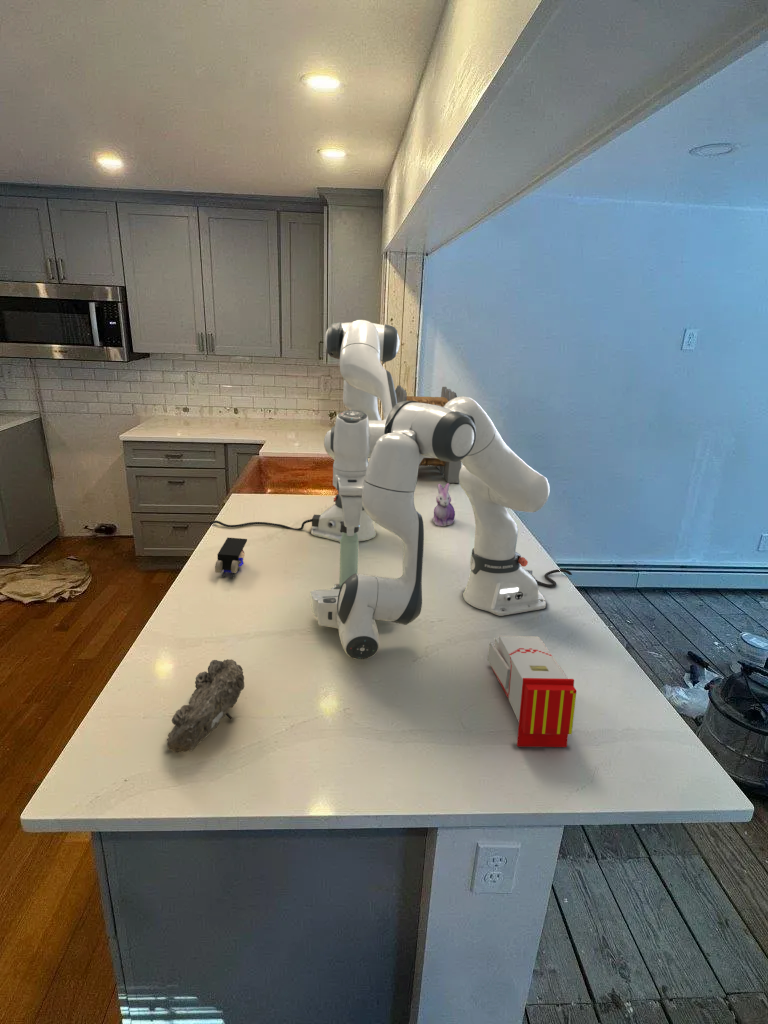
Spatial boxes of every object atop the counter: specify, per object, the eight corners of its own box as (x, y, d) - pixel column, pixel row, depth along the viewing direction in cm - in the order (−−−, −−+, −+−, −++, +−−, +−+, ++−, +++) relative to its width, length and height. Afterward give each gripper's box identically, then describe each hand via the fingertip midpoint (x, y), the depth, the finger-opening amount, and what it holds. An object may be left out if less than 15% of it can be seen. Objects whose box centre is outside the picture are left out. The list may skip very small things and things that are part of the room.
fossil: (192, 660, 117) (244, 628, 112) (224, 691, 120) (276, 661, 115) (142, 746, 98) (202, 712, 93) (182, 779, 101) (242, 748, 96)
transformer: (382, 463, 289) (386, 382, 275) (445, 464, 293) (451, 384, 279) (390, 482, 257) (394, 392, 243) (460, 483, 261) (468, 394, 247)
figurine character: (238, 584, 162) (249, 557, 175) (236, 562, 158) (247, 536, 172) (215, 584, 161) (227, 556, 175) (212, 561, 158) (225, 535, 171)
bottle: (344, 599, 154) (346, 520, 146) (359, 603, 152) (362, 523, 144) (335, 607, 150) (337, 526, 142) (351, 611, 148) (353, 529, 140)
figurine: (440, 528, 206) (443, 489, 201) (425, 519, 214) (428, 481, 209) (461, 525, 210) (465, 486, 205) (446, 516, 219) (449, 478, 214)
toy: (536, 619, 129) (586, 686, 99) (531, 673, 131) (578, 754, 102) (483, 618, 128) (517, 685, 99) (479, 672, 131) (511, 753, 102)
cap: (337, 531, 142) (337, 524, 142) (346, 525, 146) (346, 518, 146) (352, 535, 141) (353, 527, 140) (361, 529, 144) (362, 522, 144)
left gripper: (336, 467, 148) (336, 516, 153) (339, 490, 129) (338, 546, 134) (360, 467, 149) (359, 516, 154) (366, 491, 130) (364, 546, 134)
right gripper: (396, 598, 138) (386, 573, 150) (311, 602, 134) (309, 576, 147) (395, 621, 140) (385, 594, 153) (311, 625, 136) (309, 598, 149)
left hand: (349, 530), depth 143 cm, fingers closed on cap, 4 cm apart
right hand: (347, 585), depth 150 cm, fingers closed on bottle, 5 cm apart
